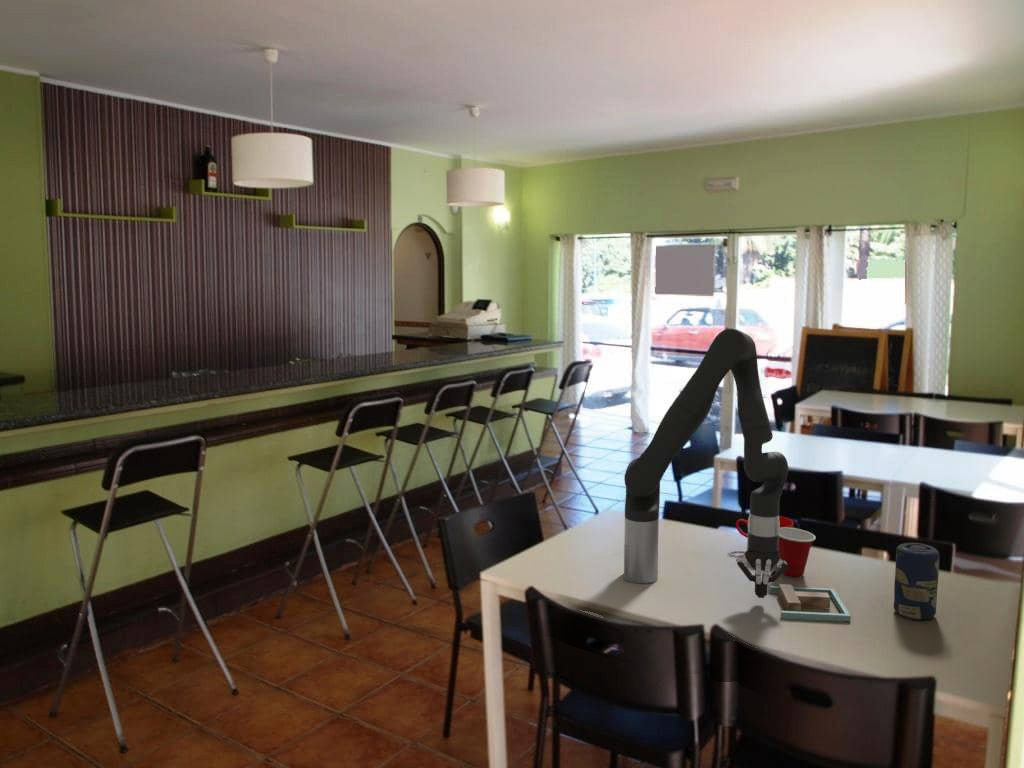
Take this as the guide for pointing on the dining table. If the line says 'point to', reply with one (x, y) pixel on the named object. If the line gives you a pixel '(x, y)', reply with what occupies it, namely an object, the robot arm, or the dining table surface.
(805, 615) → the dock
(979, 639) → the dining table surface
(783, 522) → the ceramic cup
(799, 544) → the plastic cup
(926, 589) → the canister
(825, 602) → the t block
